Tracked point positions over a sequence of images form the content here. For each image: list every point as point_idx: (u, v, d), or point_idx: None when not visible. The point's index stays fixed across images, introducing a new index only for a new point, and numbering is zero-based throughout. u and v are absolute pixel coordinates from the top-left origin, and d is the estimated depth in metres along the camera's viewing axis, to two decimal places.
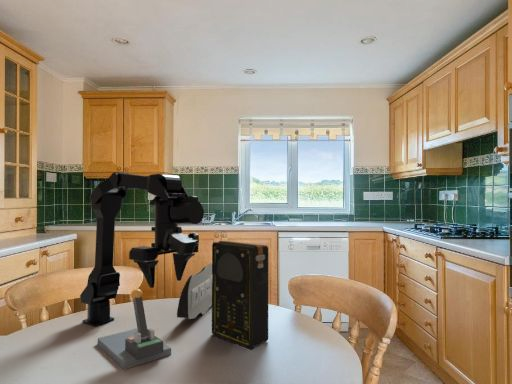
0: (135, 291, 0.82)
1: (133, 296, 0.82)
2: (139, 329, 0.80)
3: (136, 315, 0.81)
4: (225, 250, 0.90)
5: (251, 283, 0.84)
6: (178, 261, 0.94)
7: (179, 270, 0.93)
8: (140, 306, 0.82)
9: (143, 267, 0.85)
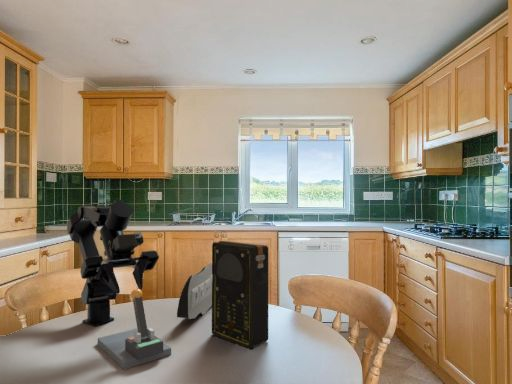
0: (135, 291, 0.82)
1: (133, 296, 0.82)
2: (139, 329, 0.80)
3: (136, 315, 0.81)
4: (225, 250, 0.90)
5: (251, 283, 0.84)
6: (136, 273, 0.91)
7: (138, 279, 0.90)
8: (140, 306, 0.82)
9: (105, 279, 0.87)
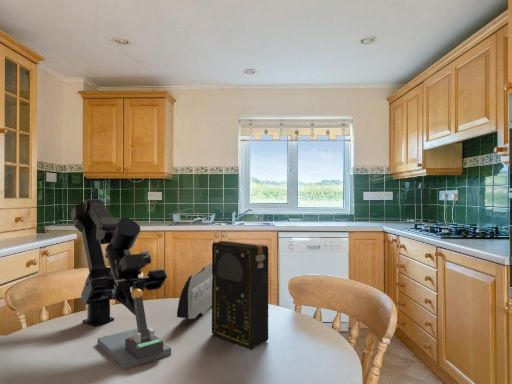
0: (135, 291, 0.82)
1: (133, 296, 0.82)
2: (139, 329, 0.80)
3: (136, 315, 0.81)
4: (225, 250, 0.90)
5: (251, 283, 0.84)
6: None
7: None
8: (140, 305, 0.82)
9: (122, 299, 0.85)
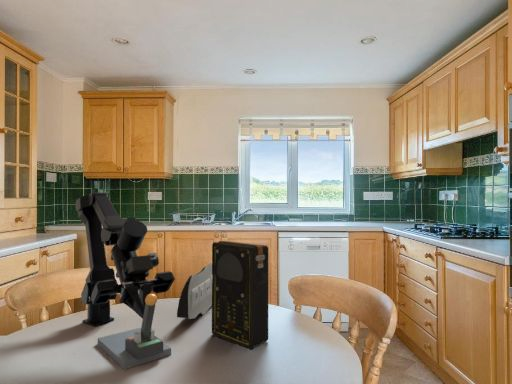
0: (150, 300, 0.76)
1: (147, 303, 0.76)
2: (142, 332, 0.78)
3: (143, 318, 0.78)
4: (225, 250, 0.90)
5: (251, 283, 0.84)
6: (140, 300, 0.83)
7: None
8: (151, 313, 0.78)
9: (130, 303, 0.82)
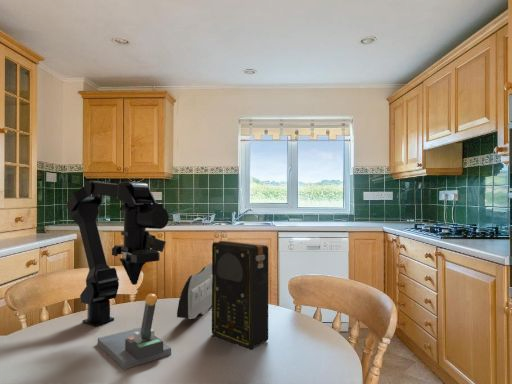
0: (150, 300, 0.76)
1: (147, 303, 0.76)
2: (142, 332, 0.78)
3: (143, 318, 0.78)
4: (225, 250, 0.90)
5: (251, 283, 0.84)
6: None
7: None
8: (151, 313, 0.78)
9: (132, 267, 0.94)
